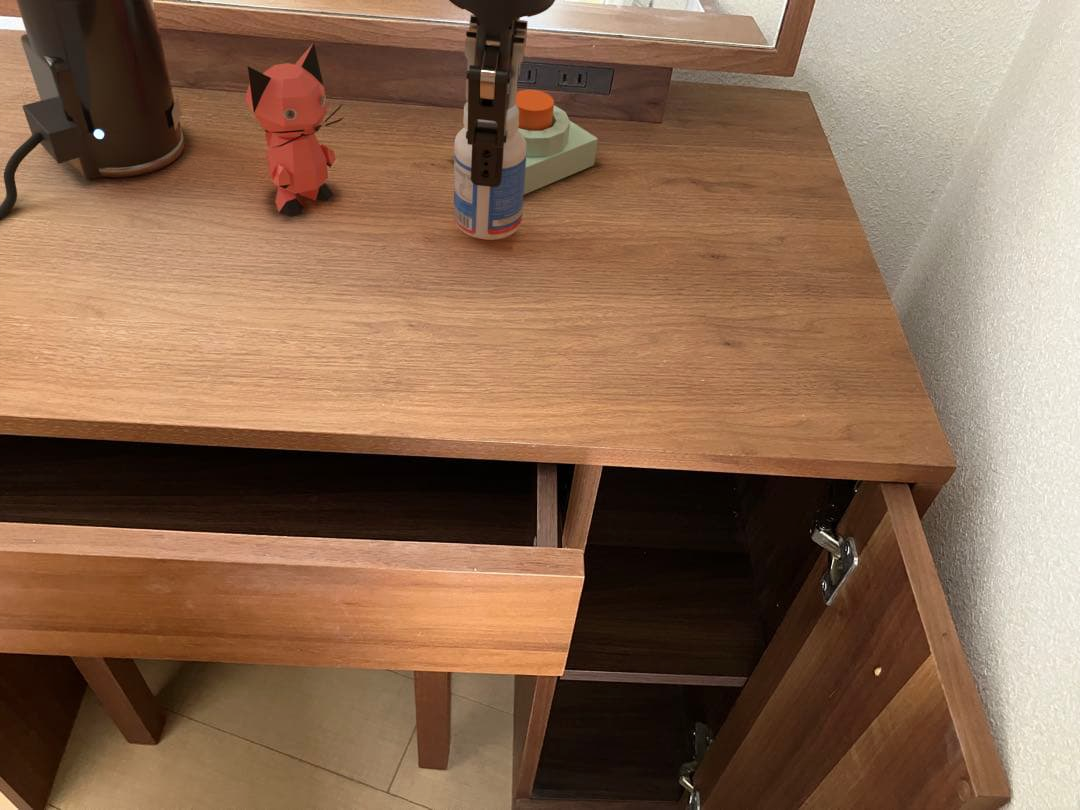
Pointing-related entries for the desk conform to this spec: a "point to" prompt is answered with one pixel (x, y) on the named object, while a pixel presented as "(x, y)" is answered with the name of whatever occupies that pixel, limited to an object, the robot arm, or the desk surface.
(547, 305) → the desk surface
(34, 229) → the desk surface
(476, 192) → the pill bottle
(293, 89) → the cat figurine
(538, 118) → the orange cylinder plug
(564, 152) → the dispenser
